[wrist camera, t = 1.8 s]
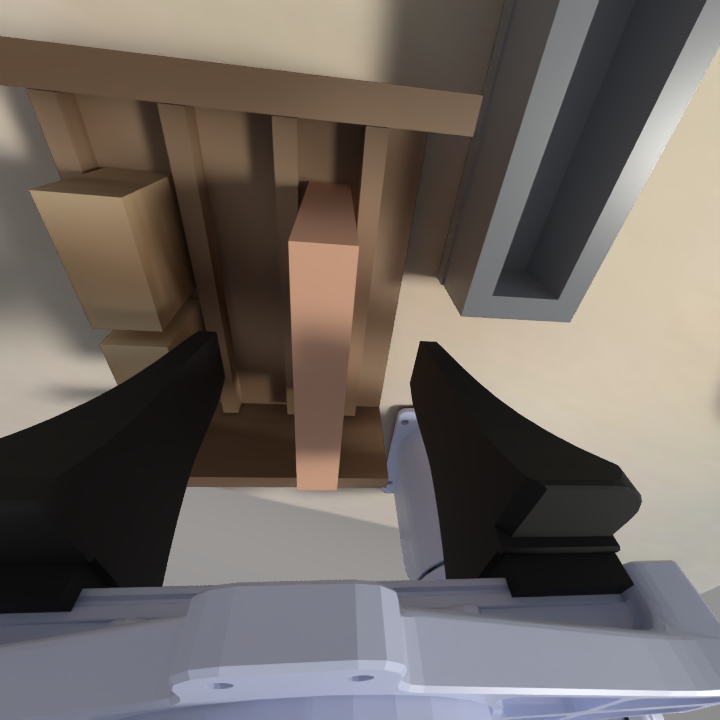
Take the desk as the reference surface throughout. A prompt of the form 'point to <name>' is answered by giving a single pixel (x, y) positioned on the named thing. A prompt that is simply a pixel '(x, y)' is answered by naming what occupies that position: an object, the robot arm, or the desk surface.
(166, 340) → the offcut
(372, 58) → the desk surface
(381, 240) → the rack
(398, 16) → the desk surface
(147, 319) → the offcut
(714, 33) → the holder
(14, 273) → the desk surface
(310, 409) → the salmon rectangular block
